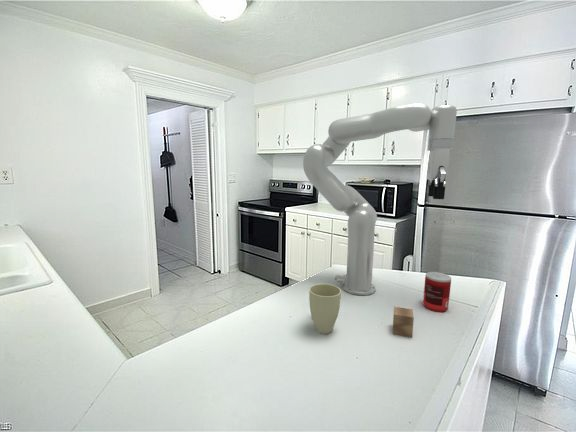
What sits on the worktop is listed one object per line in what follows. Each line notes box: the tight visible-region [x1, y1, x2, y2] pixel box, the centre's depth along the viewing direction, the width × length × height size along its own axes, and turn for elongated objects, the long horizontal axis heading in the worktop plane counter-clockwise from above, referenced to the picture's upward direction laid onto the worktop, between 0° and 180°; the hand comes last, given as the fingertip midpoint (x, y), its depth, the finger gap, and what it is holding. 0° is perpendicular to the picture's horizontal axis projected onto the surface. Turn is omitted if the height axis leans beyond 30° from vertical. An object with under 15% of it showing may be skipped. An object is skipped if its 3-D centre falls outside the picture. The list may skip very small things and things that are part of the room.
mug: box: [308, 283, 342, 335], centre depth 84 cm, size 11×10×12 cm
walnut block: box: [392, 306, 415, 338], centre depth 83 cm, size 5×5×6 cm
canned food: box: [422, 271, 452, 313], centre depth 97 cm, size 8×8×11 cm
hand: (435, 197), depth 98 cm, fingers open, 9 cm apart
